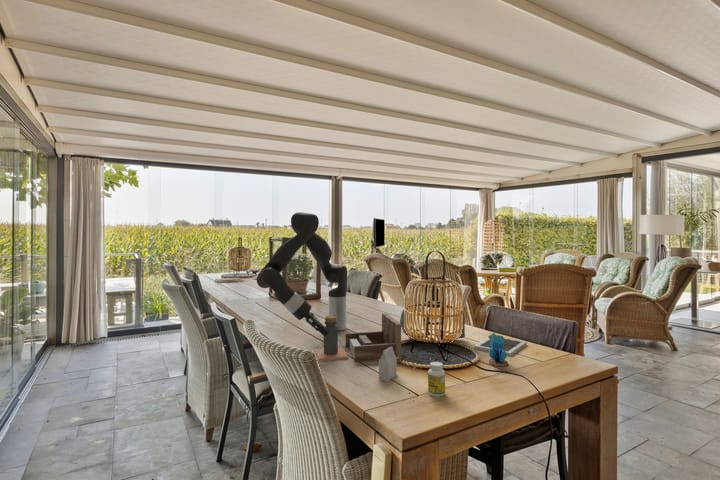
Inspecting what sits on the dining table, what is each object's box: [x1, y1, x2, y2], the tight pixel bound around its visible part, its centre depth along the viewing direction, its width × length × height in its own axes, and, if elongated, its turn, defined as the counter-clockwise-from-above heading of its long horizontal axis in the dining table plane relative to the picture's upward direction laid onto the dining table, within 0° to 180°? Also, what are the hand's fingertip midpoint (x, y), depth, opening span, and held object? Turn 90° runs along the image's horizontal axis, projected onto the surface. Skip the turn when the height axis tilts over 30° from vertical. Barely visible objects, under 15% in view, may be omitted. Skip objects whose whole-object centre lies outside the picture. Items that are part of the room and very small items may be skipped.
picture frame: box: [473, 334, 527, 357], centre depth 176 cm, size 16×3×21 cm
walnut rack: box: [344, 312, 402, 363], centre depth 168 cm, size 21×19×14 cm
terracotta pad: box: [314, 347, 349, 362], centre depth 165 cm, size 12×12×1 cm
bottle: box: [323, 315, 339, 355], centre depth 165 cm, size 6×6×15 cm
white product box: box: [378, 347, 398, 382], centre depth 141 cm, size 4×7×10 cm, turn 150°
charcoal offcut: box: [358, 335, 372, 345], centre depth 168 cm, size 12×3×6 cm, turn 13°
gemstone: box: [488, 332, 509, 368], centre depth 154 cm, size 7×9×12 cm
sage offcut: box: [349, 339, 360, 357], centre depth 167 cm, size 14×3×4 cm, turn 11°
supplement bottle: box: [427, 361, 446, 397], centre depth 127 cm, size 5×5×10 cm
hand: (325, 332), depth 164 cm, fingers open, 8 cm apart
